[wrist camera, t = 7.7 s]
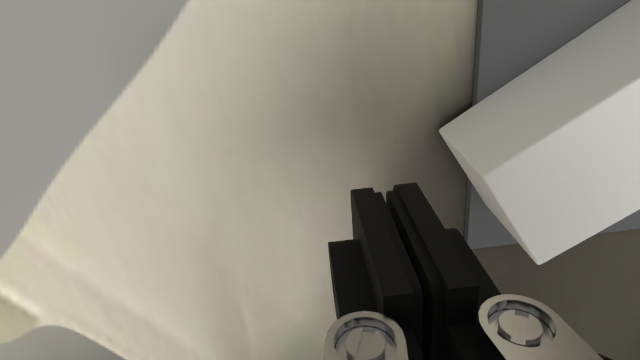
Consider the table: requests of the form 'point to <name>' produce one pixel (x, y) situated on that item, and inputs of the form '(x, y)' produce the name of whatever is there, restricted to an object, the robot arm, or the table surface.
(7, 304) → the table surface
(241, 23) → the table surface
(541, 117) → the milk
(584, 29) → the mat
